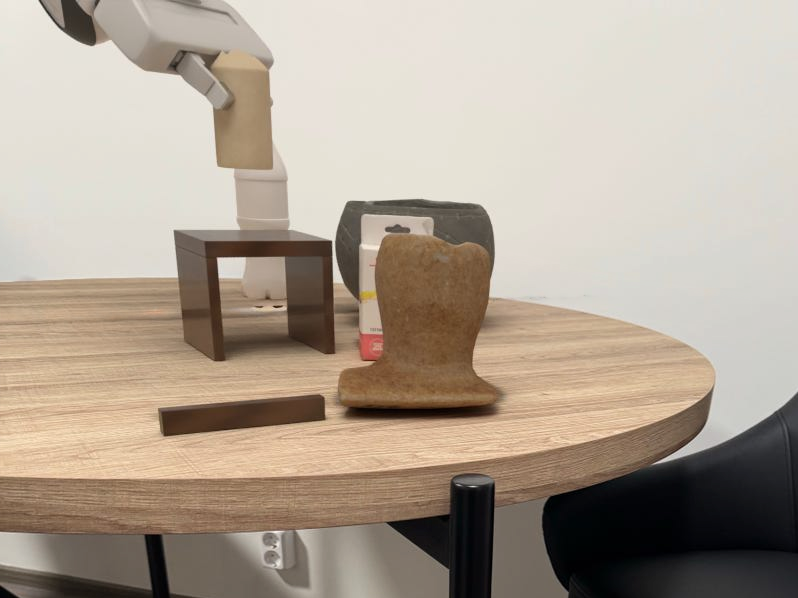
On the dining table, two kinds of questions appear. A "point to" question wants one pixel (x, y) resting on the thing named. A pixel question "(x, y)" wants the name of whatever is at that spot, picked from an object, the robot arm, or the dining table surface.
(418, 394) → the tan flared-base block
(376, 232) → the ink cartridge box
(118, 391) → the dining table surface
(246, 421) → the rail
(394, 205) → the bowl
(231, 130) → the candle
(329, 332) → the shelf unit
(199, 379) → the dining table surface
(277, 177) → the water bottle
